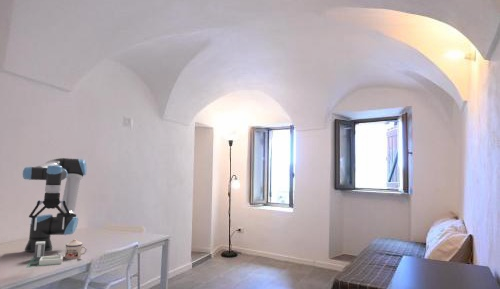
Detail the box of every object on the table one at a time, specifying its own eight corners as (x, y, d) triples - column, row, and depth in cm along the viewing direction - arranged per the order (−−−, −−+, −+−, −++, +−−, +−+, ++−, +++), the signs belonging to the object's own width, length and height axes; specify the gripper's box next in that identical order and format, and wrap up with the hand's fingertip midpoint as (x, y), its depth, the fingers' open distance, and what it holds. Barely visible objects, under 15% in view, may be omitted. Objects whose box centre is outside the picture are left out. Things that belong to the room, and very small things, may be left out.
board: (31, 260, 187) (32, 254, 187) (62, 258, 194) (63, 252, 194) (26, 269, 171) (26, 263, 171) (60, 266, 178) (60, 260, 178)
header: (40, 261, 182) (41, 256, 182) (62, 259, 187) (63, 255, 187) (38, 265, 175) (39, 260, 175) (61, 263, 180) (62, 258, 180)
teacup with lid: (62, 260, 188) (64, 241, 189) (66, 256, 197) (68, 237, 198) (84, 260, 191) (85, 240, 192) (87, 256, 200) (89, 237, 201)
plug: (34, 258, 186) (36, 241, 187) (43, 258, 188) (45, 241, 189) (33, 261, 182) (35, 243, 183) (42, 260, 184) (44, 242, 184)
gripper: (25, 192, 172) (21, 232, 171) (77, 193, 184) (73, 229, 183) (27, 191, 179) (23, 229, 178) (77, 191, 191) (74, 226, 190)
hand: (49, 229), depth 180 cm, fingers open, 13 cm apart
